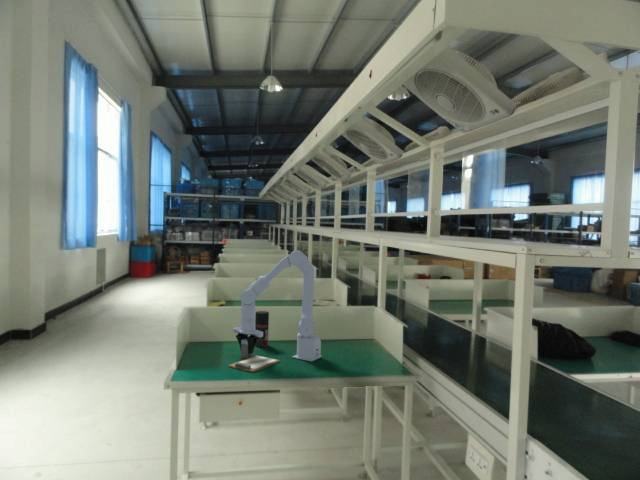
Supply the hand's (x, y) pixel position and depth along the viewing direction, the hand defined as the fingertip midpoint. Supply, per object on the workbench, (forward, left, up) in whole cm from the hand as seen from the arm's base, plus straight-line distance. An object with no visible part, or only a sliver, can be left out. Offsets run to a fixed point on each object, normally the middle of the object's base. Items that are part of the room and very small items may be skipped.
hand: (247, 352), depth 167 cm
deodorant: (+6, -17, -2) cm, 18 cm away
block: (0, 0, -2) cm, 2 cm away
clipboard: (-9, +6, -2) cm, 11 cm away
